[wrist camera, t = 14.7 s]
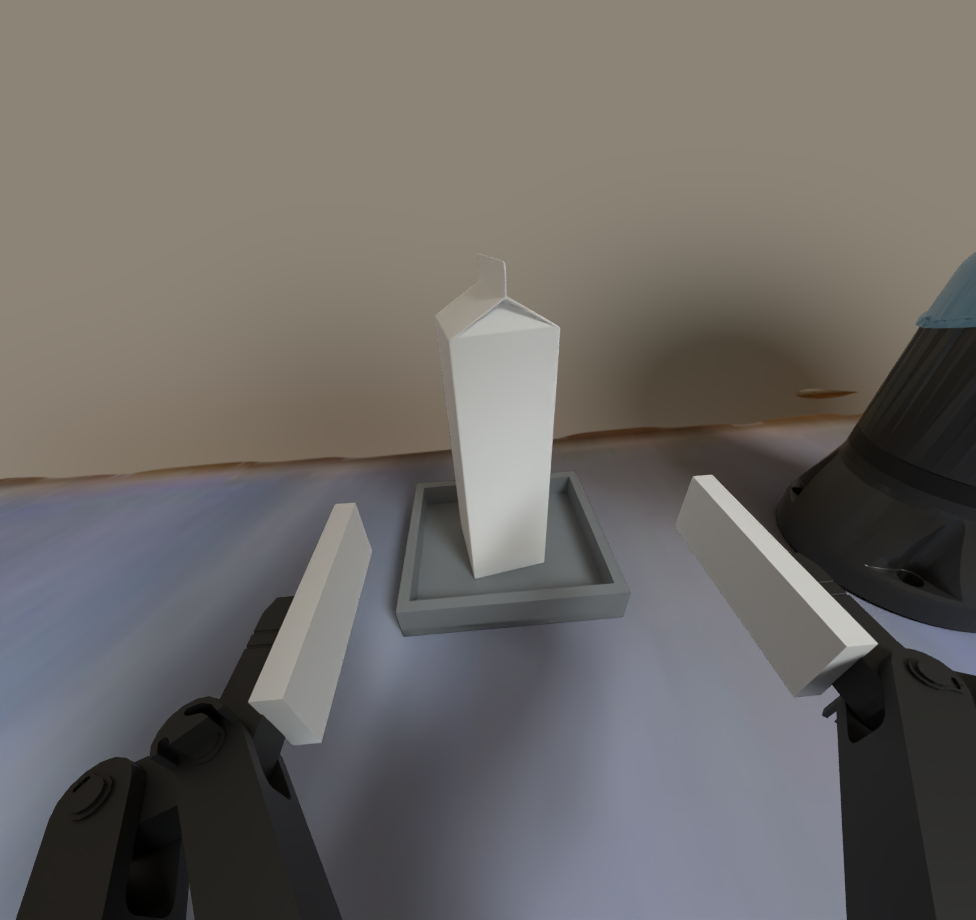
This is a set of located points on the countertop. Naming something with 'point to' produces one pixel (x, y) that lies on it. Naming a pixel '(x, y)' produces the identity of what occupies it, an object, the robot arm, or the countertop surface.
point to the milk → (499, 419)
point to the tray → (512, 594)
